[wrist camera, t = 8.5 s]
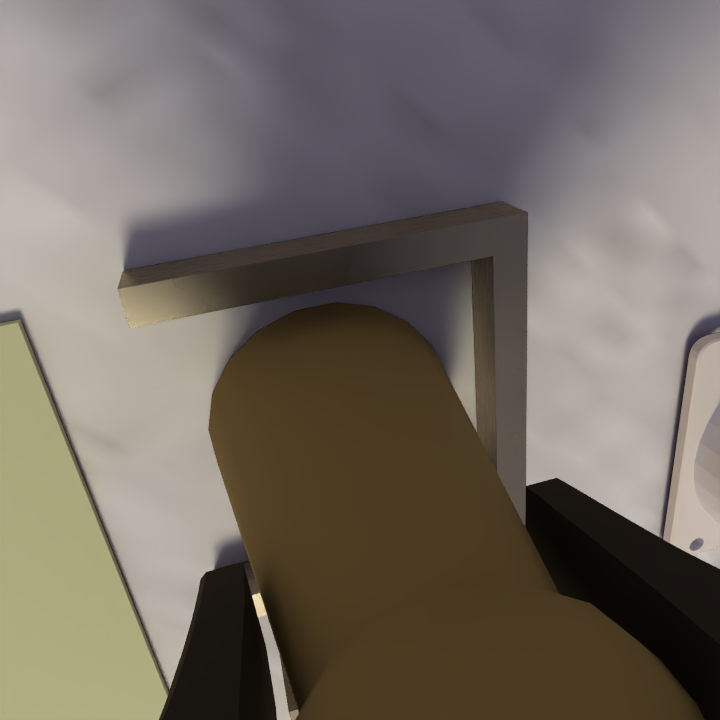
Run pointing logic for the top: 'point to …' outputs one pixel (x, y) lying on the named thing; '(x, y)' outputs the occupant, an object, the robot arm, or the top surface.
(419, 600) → the brown pepper mill
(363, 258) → the socket
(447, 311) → the top surface
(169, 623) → the top surface
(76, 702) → the mat
